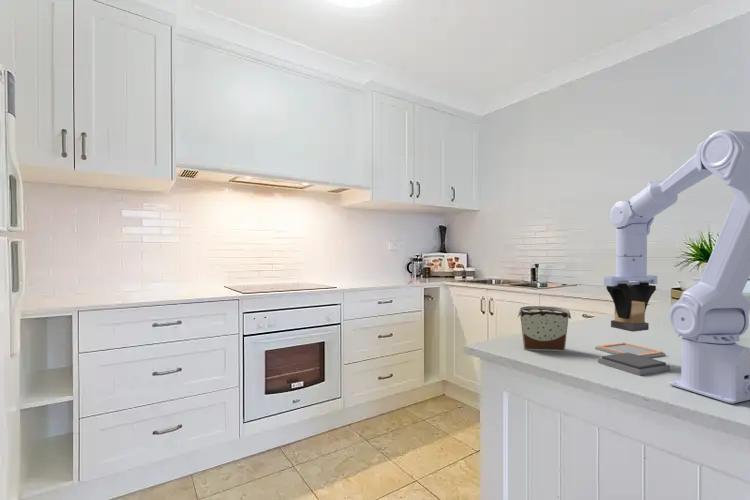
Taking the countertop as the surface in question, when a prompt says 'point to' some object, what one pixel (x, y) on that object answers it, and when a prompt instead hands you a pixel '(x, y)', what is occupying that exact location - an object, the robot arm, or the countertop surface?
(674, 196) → the robot arm
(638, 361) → the pad
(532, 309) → the food container
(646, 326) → the stamp
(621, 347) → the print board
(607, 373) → the countertop surface
